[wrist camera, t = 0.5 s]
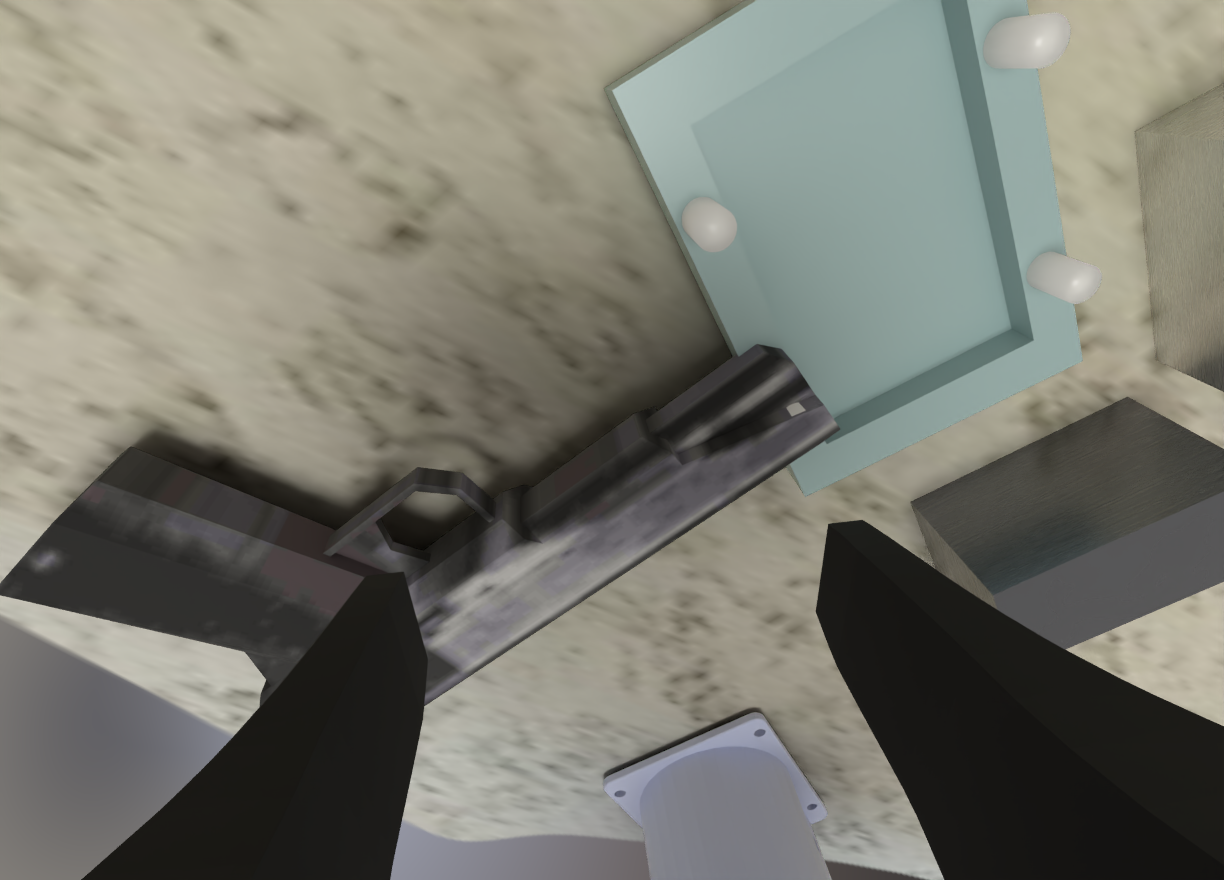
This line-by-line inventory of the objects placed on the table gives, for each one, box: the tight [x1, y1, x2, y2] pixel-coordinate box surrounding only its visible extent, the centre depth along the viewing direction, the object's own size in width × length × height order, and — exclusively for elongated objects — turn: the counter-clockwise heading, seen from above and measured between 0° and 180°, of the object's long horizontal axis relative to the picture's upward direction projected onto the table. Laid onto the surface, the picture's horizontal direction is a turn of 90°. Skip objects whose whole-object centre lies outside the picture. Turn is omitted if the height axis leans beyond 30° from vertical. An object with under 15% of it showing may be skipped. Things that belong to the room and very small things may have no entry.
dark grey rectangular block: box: [911, 397, 1224, 649], centre depth 22 cm, size 8×4×5 cm, turn 119°
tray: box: [604, 0, 1102, 497], centre depth 17 cm, size 13×9×3 cm
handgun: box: [0, 344, 840, 706], centre depth 19 cm, size 3×21×12 cm
